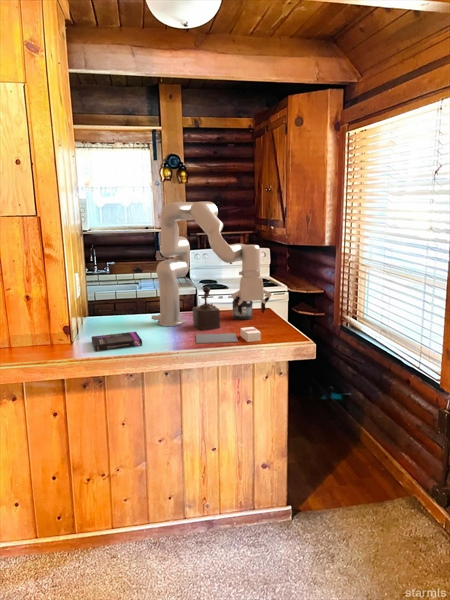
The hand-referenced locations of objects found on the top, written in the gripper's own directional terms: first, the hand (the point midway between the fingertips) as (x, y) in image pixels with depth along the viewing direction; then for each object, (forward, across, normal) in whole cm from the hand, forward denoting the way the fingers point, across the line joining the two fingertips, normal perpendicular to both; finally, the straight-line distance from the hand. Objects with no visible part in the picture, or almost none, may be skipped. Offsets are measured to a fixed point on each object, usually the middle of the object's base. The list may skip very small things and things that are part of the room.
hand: (251, 312), depth 193 cm
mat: (+11, -16, +2) cm, 19 cm away
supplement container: (+11, 0, +36) cm, 37 cm away
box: (+11, -59, -1) cm, 60 cm away
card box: (+12, -1, 0) cm, 12 cm away
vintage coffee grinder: (+11, -20, +24) cm, 33 cm away
